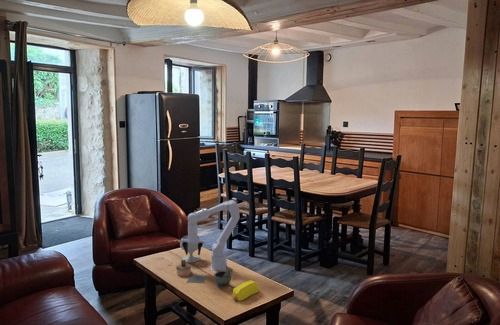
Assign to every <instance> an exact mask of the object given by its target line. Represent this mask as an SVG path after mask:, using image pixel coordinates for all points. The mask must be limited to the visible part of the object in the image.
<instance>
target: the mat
mask: <svg viewBox="0 0 500 325" xmlns="http://www.w3.org/2000/svg"><path fill="white" fill-rule="evenodd" d="M189 275H190V276H189V277H188V279H187V281H186V284H187V283H189V284H190V283H191V284H204V283H205V281H206V279H207V277H208V275H204V274H203V275H197V274H189Z"/></svg>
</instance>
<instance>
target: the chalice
mask: <svg viewBox="0 0 500 325" xmlns="http://www.w3.org/2000/svg"><path fill="white" fill-rule="evenodd" d="M181 239H188V234H187V235H184V236H182V237H181ZM197 239H201V238H200V236H199V235H197ZM198 244H199V243H188V254H189V255H187V256H184V257H182V259H181V260H186V263H188V264H191V263H197V262H199V261H201V256H200V255H194V252H196V251H198ZM179 246H180V248H181V250H183V251H184V252H185V250H184V248H183V246H182V243H181V241H180V242H179Z"/></svg>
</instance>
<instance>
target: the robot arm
mask: <svg viewBox="0 0 500 325" xmlns="http://www.w3.org/2000/svg"><path fill="white" fill-rule="evenodd" d="M240 210H241V209H240V208H239V205H238V203H237V202H236V201H235V200H232V199H229V200H225V201H223V202H222V203H219V204H217V205H215V206H213V207H211V208H209V209H208V208H201V210H198V211H193V212H191V213H189V214H188V215H187V221H188V222H187V235H188V239H182V238H181V239H180V242H181V243H182V246H183V248H184V250H185V251H184V250H183V251H184V252H185V255H187V256H188V254H189V252H188V243H199V244H198V250H197V256H200V254H201V251H202V247H203V245H205V243H206V242H205V239H201V238H200V239H197V236H198V222H199V221H202V220H205V219H207V218H209V217H210V215H213V214H216V213H218V212H221V211H223V212H229V214H230V218H229V220H228V221H227V223H226V225H225V227H224V228H223V230H222V231H221V234H220V235H219V237H218V238H217V239H216V240H215V241H214V242H213V243H212V244H211V251H212V252H211V254H210V257H211V267H210V271H218V272H220V271H227V268H228V260H227V259H228V257H227V256H228V255H227V254H224V249H225V245H226V243H227V241H228V239H229V237H230V236H231V234H232V233H233V230H234V229H235V227H236V226H237V224H238V222H239V220H240V218H241V217H240Z"/></svg>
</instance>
